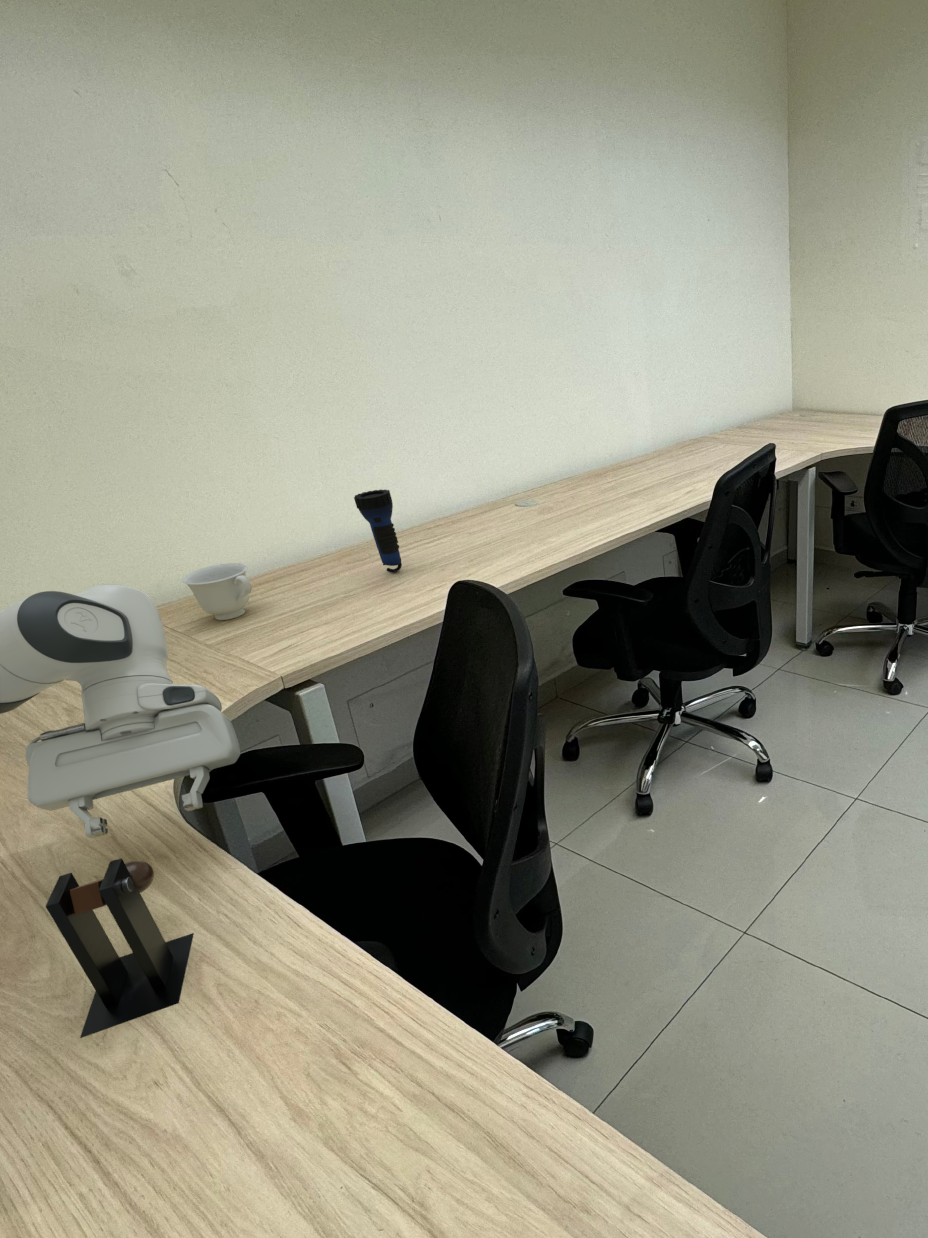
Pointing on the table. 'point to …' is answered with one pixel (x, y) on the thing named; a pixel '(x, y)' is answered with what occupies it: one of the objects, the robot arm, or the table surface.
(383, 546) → the flashlight
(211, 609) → the teacup
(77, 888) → the lever
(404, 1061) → the table surface
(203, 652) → the table surface
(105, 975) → the bracket
